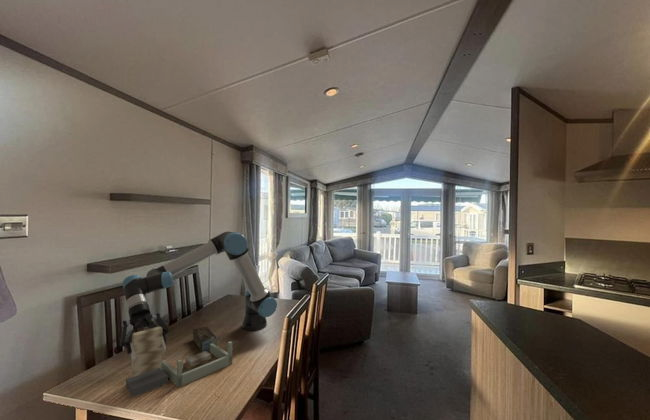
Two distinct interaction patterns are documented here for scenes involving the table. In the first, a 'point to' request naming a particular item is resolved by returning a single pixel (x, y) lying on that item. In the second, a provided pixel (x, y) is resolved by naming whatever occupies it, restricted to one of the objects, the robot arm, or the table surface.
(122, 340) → the robot arm
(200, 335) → the beverage carton
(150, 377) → the rubber block
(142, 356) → the birch block
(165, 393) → the table surface
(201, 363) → the offcut stack
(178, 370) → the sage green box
